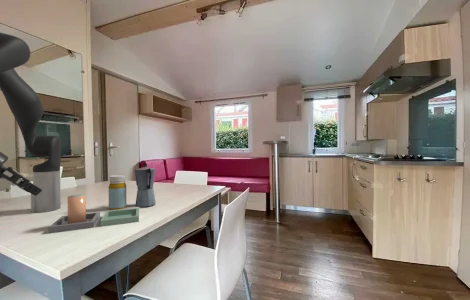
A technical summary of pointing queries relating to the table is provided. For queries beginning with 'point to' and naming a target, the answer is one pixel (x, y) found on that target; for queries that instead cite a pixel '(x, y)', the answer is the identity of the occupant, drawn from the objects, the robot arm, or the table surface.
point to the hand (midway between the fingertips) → (35, 191)
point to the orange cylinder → (76, 208)
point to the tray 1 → (64, 226)
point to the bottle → (117, 192)
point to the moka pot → (145, 186)
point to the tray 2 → (120, 217)
